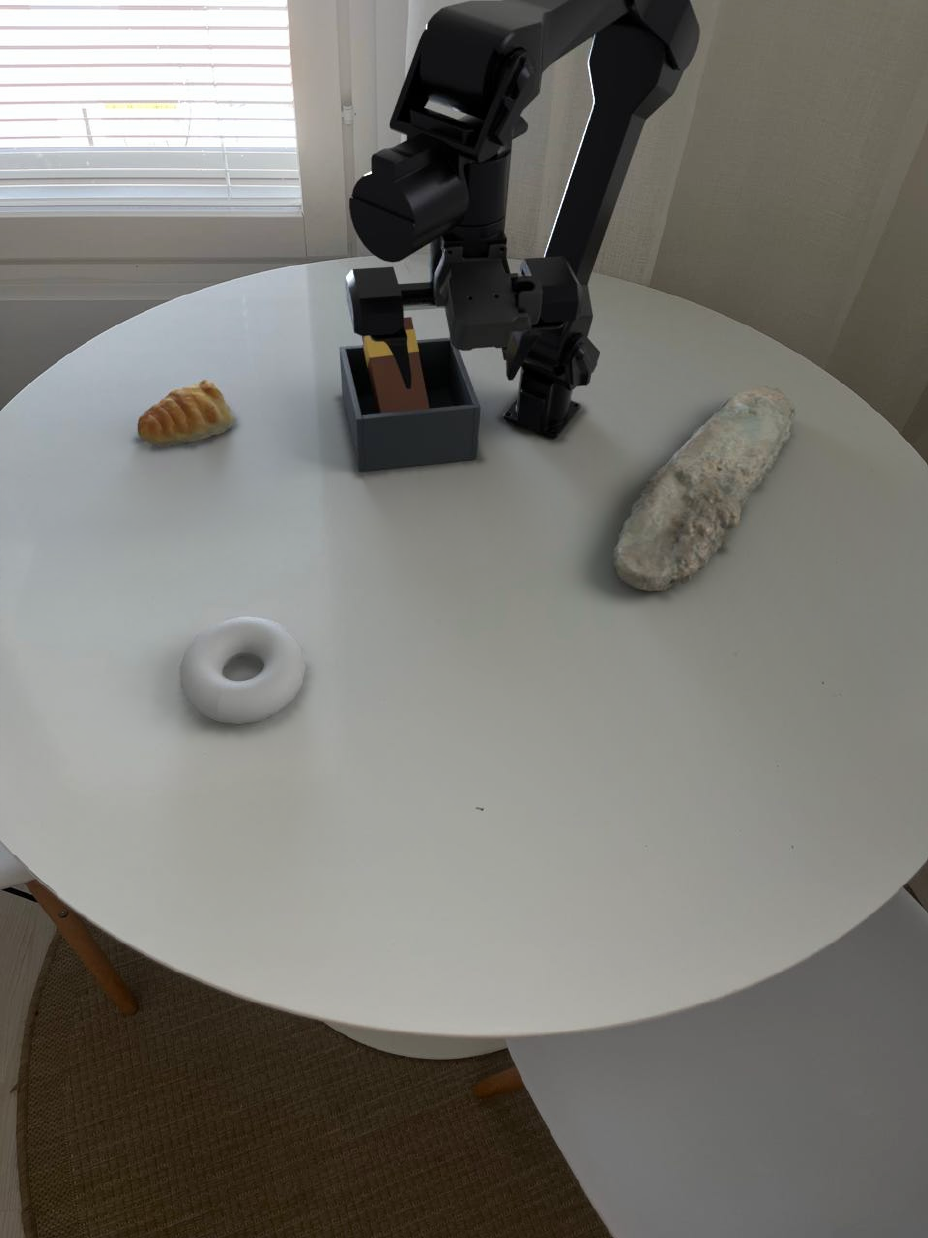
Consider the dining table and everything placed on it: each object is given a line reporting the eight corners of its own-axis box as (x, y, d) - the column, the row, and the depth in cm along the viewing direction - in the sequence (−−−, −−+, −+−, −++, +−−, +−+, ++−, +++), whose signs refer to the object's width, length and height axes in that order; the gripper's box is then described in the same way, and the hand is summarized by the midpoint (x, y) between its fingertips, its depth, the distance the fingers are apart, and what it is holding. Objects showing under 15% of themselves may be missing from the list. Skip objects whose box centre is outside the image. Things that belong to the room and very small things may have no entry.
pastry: (158, 462, 91) (149, 431, 88) (128, 427, 94) (118, 397, 91) (240, 427, 95) (235, 397, 92) (209, 396, 98) (202, 365, 95)
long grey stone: (809, 433, 101) (725, 404, 105) (824, 391, 97) (736, 363, 101) (685, 618, 80) (585, 574, 84) (698, 575, 76) (593, 530, 80)
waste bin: (451, 388, 101) (454, 336, 96) (476, 459, 94) (480, 407, 89) (342, 398, 99) (339, 346, 94) (359, 472, 91) (356, 419, 86)
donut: (308, 632, 78) (189, 634, 77) (306, 606, 76) (182, 608, 74) (305, 730, 72) (175, 734, 71) (302, 706, 69) (167, 710, 68)
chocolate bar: (382, 446, 93) (360, 334, 94) (430, 439, 94) (408, 328, 95) (384, 437, 90) (362, 322, 91) (434, 430, 91) (412, 316, 92)
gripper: (359, 271, 62) (366, 450, 74) (618, 255, 65) (585, 429, 77) (339, 194, 69) (349, 369, 81) (575, 183, 72) (551, 353, 84)
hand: (459, 381), depth 80 cm, fingers open, 9 cm apart
